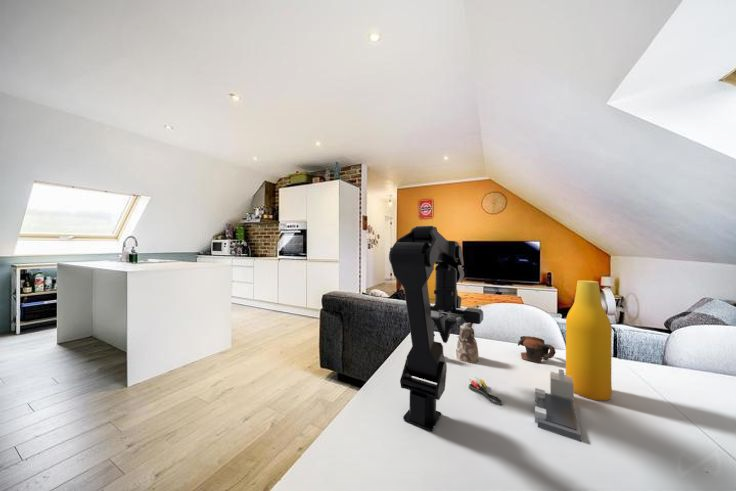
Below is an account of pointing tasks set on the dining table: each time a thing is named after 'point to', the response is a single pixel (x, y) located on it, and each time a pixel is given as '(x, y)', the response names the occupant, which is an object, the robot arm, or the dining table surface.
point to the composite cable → (483, 390)
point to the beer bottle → (589, 343)
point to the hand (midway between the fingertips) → (445, 342)
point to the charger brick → (561, 385)
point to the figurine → (467, 344)
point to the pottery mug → (536, 349)
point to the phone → (556, 415)
